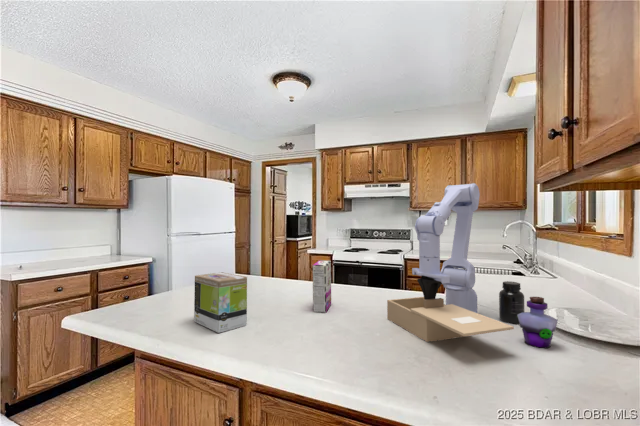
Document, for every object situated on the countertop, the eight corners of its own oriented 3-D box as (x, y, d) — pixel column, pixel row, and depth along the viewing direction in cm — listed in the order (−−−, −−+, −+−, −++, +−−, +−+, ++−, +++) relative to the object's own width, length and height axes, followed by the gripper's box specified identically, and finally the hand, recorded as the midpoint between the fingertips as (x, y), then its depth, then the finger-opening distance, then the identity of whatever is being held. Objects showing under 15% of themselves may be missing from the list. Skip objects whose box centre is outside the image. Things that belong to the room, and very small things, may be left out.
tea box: (248, 325, 95) (248, 276, 96) (217, 334, 88) (217, 281, 88) (222, 315, 106) (222, 270, 106) (192, 322, 98) (193, 274, 99)
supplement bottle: (494, 317, 102) (494, 280, 103) (514, 317, 103) (513, 280, 103) (508, 325, 96) (508, 285, 96) (530, 324, 96) (529, 284, 96)
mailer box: (424, 314, 106) (424, 296, 106) (470, 335, 87) (469, 313, 87) (387, 318, 101) (387, 300, 101) (426, 342, 82) (426, 318, 82)
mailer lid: (452, 306, 94) (452, 296, 94) (513, 329, 74) (513, 317, 74) (410, 310, 89) (410, 300, 89) (464, 336, 70) (464, 323, 70)
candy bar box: (318, 303, 120) (318, 260, 120) (331, 304, 118) (331, 260, 119) (311, 312, 109) (311, 264, 109) (326, 313, 108) (326, 264, 108)
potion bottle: (540, 353, 76) (539, 302, 76) (509, 339, 84) (509, 294, 84) (567, 349, 78) (566, 300, 78) (535, 336, 86) (534, 292, 86)
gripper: (403, 254, 98) (403, 298, 98) (434, 260, 84) (434, 311, 84) (422, 253, 100) (423, 296, 100) (455, 259, 86) (456, 309, 86)
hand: (429, 303), depth 92 cm, fingers closed
